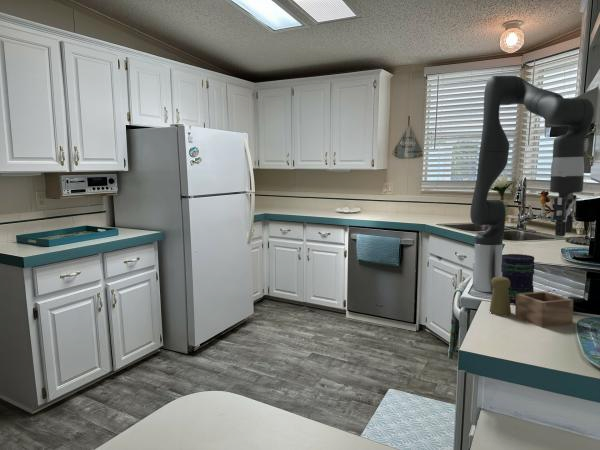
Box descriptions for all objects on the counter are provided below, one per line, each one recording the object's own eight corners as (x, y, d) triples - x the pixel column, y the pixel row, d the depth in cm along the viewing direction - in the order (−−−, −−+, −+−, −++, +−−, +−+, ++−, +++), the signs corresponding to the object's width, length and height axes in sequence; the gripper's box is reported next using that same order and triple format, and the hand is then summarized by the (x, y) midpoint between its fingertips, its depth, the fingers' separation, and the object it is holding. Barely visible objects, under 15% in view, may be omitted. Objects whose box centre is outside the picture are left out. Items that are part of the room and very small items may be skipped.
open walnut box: (515, 317, 123) (515, 293, 122) (544, 314, 125) (544, 291, 124) (541, 328, 113) (542, 303, 112) (572, 324, 115) (573, 300, 114)
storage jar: (537, 305, 133) (538, 259, 131) (503, 304, 135) (504, 258, 134) (528, 297, 142) (530, 254, 141) (497, 296, 145) (498, 253, 144)
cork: (507, 317, 122) (508, 280, 121) (486, 313, 126) (487, 277, 125) (513, 312, 126) (514, 276, 125) (492, 308, 130) (493, 274, 129)
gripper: (557, 174, 120) (554, 230, 122) (544, 175, 110) (541, 236, 111) (588, 174, 115) (585, 232, 117) (578, 174, 104) (574, 238, 106)
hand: (563, 234), depth 114 cm, fingers open, 8 cm apart
